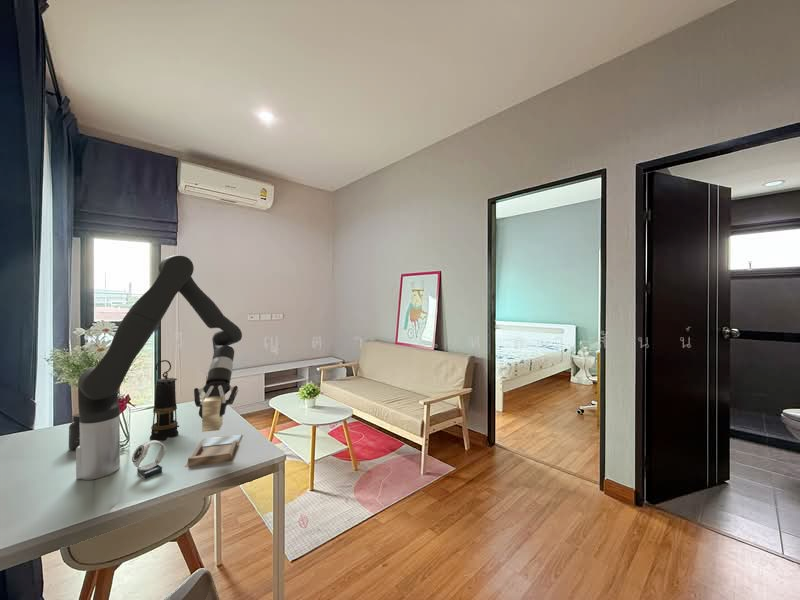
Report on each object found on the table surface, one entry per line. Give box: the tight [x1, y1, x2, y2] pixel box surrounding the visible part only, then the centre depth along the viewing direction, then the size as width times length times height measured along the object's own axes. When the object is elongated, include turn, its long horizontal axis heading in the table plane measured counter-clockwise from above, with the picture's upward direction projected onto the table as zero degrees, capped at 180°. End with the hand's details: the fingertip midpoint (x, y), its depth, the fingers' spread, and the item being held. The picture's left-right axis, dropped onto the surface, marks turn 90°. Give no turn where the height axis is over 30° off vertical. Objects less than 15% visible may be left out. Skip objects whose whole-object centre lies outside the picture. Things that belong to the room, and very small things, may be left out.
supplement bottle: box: [68, 413, 80, 452], centre depth 117 cm, size 7×7×12 cm
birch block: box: [201, 396, 224, 433], centre depth 109 cm, size 5×5×10 cm
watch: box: [131, 440, 167, 480], centre depth 98 cm, size 6×8×11 cm
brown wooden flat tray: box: [184, 434, 244, 468], centre depth 114 cm, size 14×20×4 cm
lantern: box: [149, 359, 180, 442], centre depth 127 cm, size 9×9×30 cm
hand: (211, 416), depth 107 cm, fingers closed on birch block, 5 cm apart
